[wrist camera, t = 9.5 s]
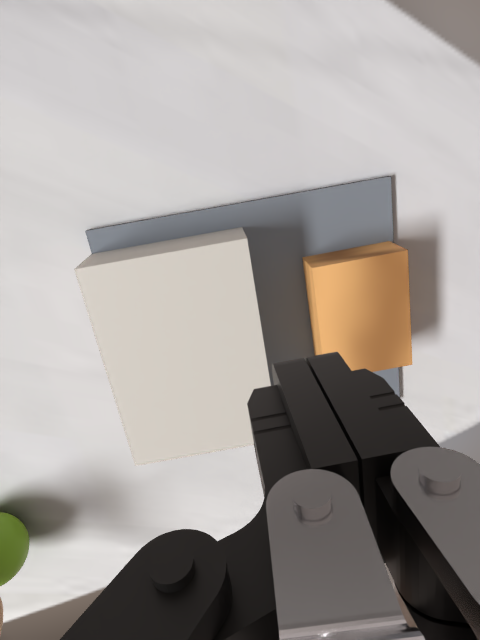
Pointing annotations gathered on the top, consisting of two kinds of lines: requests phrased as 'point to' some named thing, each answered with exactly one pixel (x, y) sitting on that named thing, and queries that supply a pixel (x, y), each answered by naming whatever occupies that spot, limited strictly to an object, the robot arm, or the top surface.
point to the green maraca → (11, 550)
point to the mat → (279, 249)
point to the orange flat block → (361, 305)
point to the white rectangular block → (178, 341)
